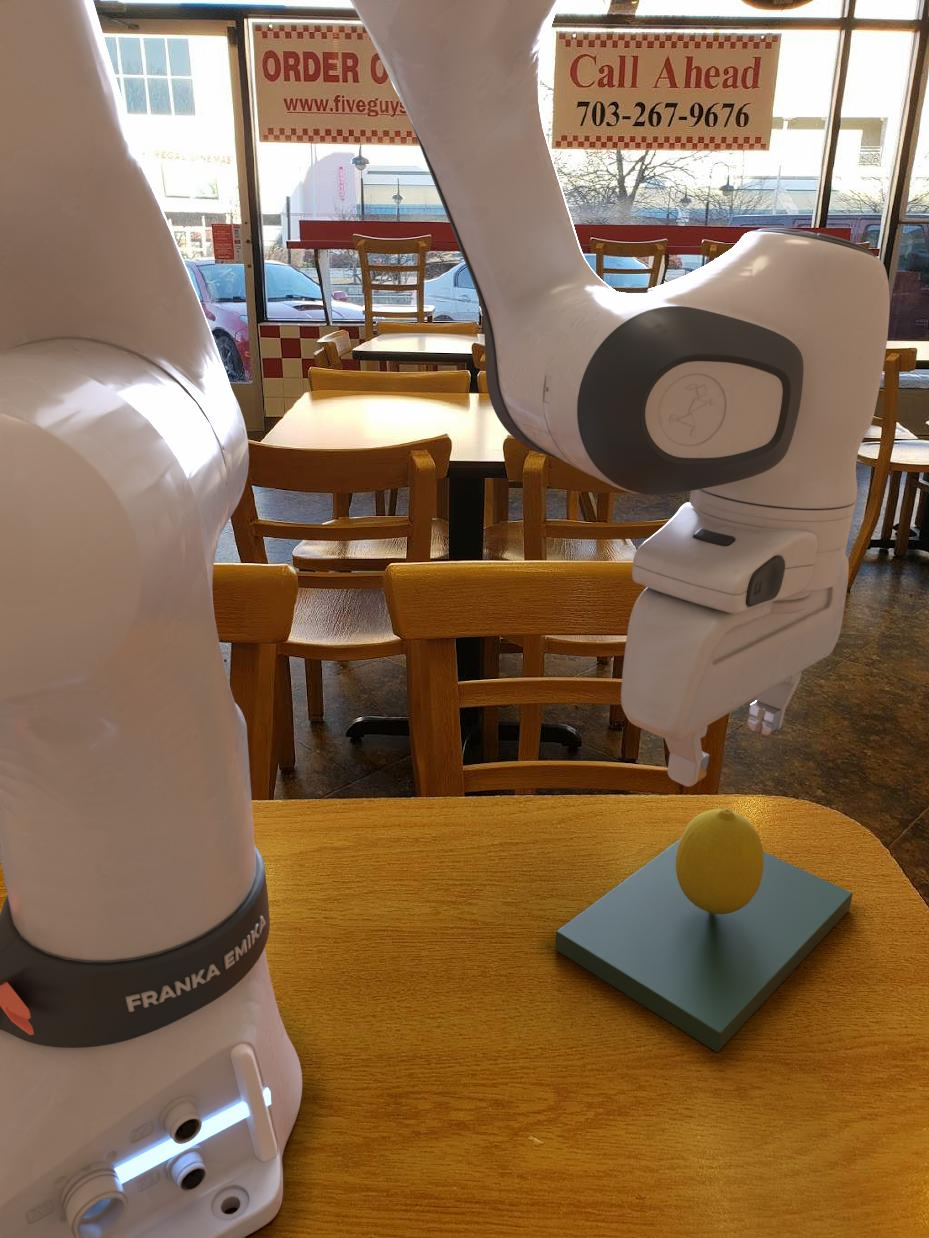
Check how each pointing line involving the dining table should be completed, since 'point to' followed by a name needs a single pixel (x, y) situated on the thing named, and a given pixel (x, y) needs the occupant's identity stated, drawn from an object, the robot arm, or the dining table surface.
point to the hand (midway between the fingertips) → (726, 753)
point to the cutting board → (702, 943)
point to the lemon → (719, 861)
